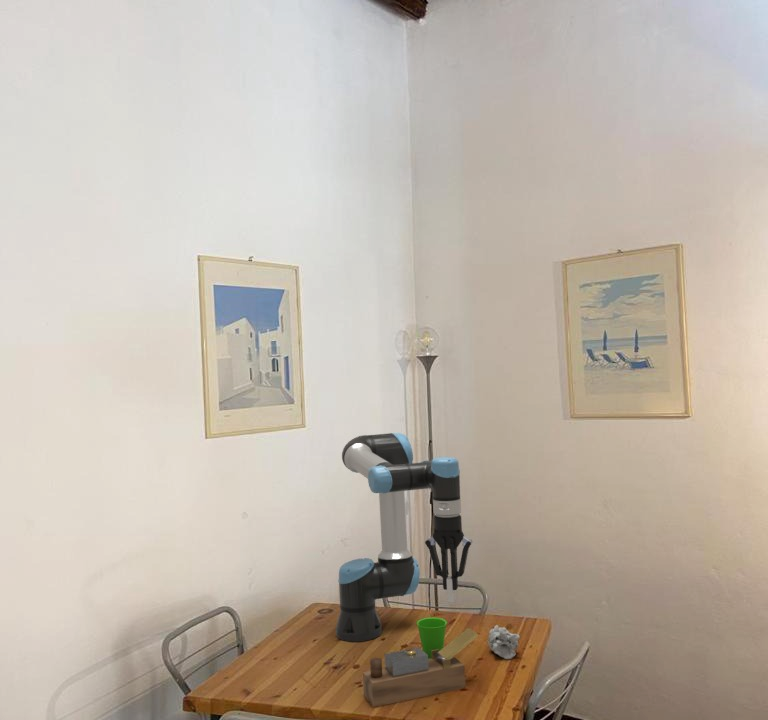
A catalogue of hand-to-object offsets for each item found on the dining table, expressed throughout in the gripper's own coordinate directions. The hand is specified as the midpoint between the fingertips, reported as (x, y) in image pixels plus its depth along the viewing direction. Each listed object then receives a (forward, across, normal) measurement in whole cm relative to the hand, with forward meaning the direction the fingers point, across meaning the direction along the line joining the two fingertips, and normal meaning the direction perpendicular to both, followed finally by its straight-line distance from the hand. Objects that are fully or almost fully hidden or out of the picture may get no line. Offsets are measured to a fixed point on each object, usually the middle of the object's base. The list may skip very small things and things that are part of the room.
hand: (451, 601), depth 194 cm
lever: (+15, -3, -2) cm, 15 cm away
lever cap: (+16, -11, -9) cm, 21 cm away
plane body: (+22, -9, -7) cm, 25 cm away
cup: (+22, -9, +14) cm, 28 cm away
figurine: (+22, +10, +23) cm, 33 cm away
